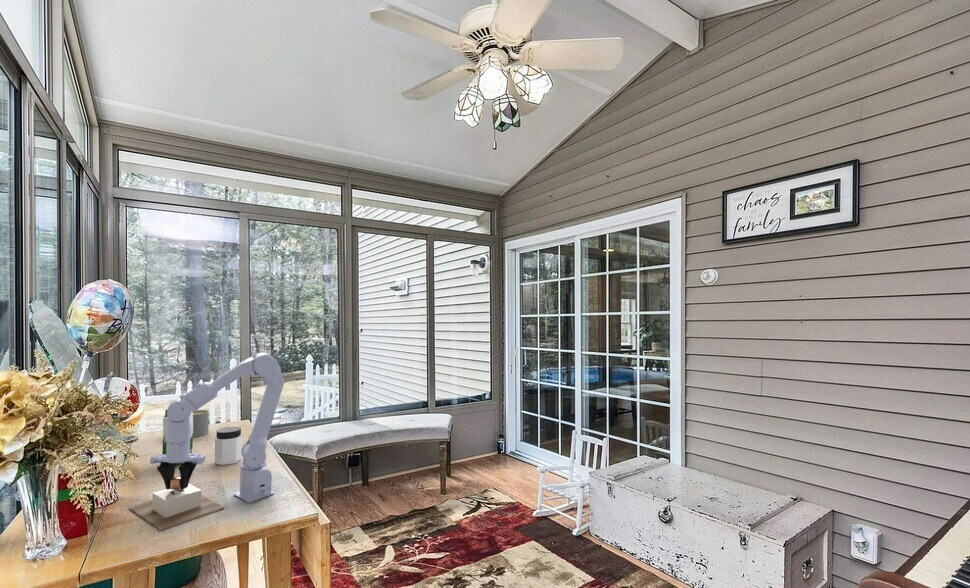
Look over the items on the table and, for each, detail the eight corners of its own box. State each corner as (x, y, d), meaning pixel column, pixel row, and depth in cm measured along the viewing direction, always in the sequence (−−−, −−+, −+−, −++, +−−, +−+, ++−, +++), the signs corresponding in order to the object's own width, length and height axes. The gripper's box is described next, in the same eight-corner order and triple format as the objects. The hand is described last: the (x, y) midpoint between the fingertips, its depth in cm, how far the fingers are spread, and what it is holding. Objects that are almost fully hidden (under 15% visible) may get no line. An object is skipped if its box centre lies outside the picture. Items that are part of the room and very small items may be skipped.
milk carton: (166, 460, 169) (167, 407, 169) (194, 457, 172) (195, 405, 173) (159, 468, 161) (160, 412, 161) (188, 465, 164) (190, 411, 165)
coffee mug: (210, 430, 209) (210, 408, 209) (206, 436, 200) (206, 413, 200) (176, 433, 204) (176, 411, 204) (170, 439, 195) (171, 416, 195)
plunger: (186, 503, 131) (187, 477, 131) (172, 507, 128) (173, 481, 128) (181, 499, 133) (181, 474, 133) (167, 504, 130) (167, 478, 130)
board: (224, 508, 131) (224, 507, 131) (160, 531, 117) (160, 529, 117) (190, 490, 143) (190, 488, 143) (128, 508, 130) (128, 507, 130)
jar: (214, 467, 163) (215, 433, 163) (213, 460, 170) (214, 428, 170) (242, 462, 168) (243, 430, 168) (240, 456, 175) (241, 425, 175)
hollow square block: (200, 505, 131) (201, 489, 131) (165, 517, 124) (165, 500, 124) (186, 497, 136) (187, 482, 137) (152, 508, 129) (152, 492, 129)
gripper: (211, 437, 135) (210, 482, 134) (162, 436, 134) (161, 482, 134) (197, 444, 128) (196, 492, 127) (145, 444, 127) (144, 492, 127)
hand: (177, 488), depth 130 cm, fingers closed on plunger, 4 cm apart
